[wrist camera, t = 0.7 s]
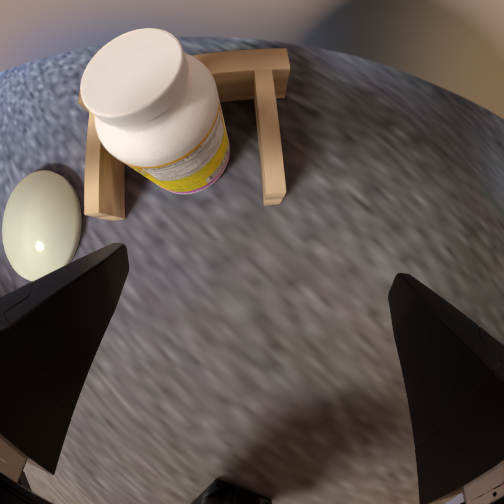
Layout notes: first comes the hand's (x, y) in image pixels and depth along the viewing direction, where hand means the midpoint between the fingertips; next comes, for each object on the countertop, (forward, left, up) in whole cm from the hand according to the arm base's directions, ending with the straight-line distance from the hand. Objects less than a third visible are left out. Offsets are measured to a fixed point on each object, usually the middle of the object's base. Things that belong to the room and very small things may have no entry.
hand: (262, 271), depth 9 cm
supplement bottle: (+4, +9, -13) cm, 16 cm away
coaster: (-8, +18, -13) cm, 24 cm away
